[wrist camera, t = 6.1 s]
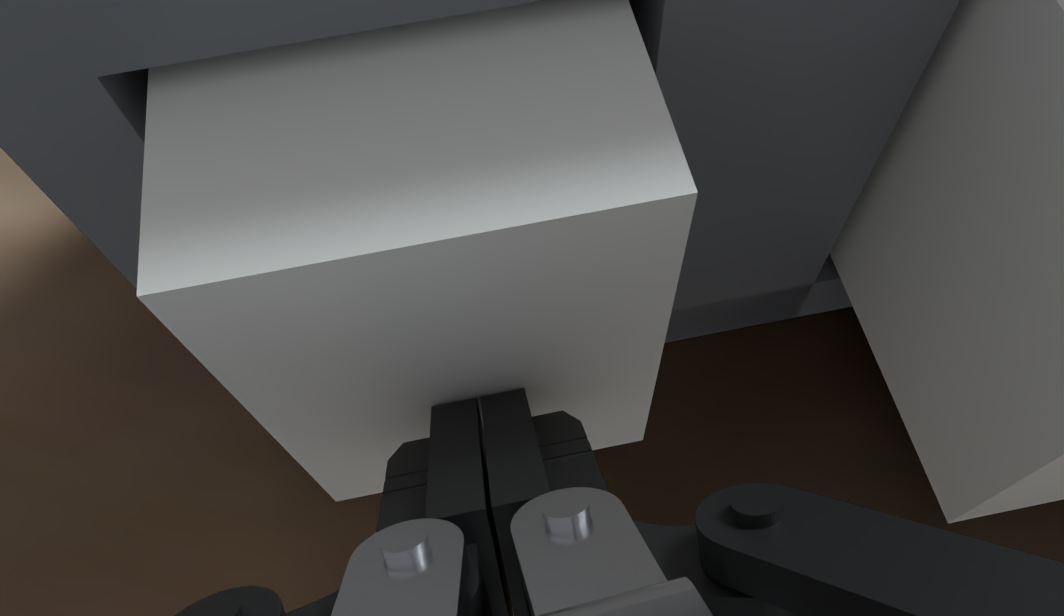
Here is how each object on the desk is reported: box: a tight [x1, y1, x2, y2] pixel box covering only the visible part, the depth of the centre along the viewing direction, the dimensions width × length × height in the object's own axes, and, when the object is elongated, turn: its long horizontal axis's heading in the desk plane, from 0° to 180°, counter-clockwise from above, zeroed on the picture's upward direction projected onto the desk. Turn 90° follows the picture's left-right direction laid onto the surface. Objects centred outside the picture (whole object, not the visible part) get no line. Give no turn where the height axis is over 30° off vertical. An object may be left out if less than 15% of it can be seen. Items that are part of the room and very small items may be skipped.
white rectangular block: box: [136, 0, 698, 502], centre depth 14 cm, size 9×6×8 cm, turn 11°
